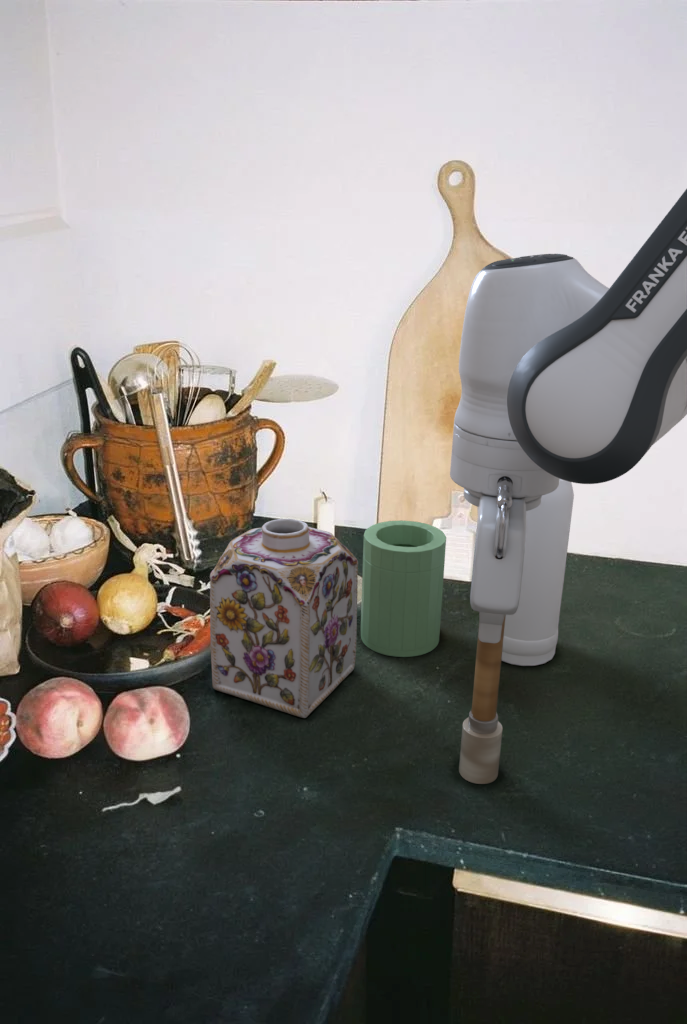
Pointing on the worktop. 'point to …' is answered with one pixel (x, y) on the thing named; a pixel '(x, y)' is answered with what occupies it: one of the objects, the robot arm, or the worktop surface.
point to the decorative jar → (283, 616)
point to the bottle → (540, 581)
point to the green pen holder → (402, 587)
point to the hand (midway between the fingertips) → (490, 612)
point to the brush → (483, 718)
